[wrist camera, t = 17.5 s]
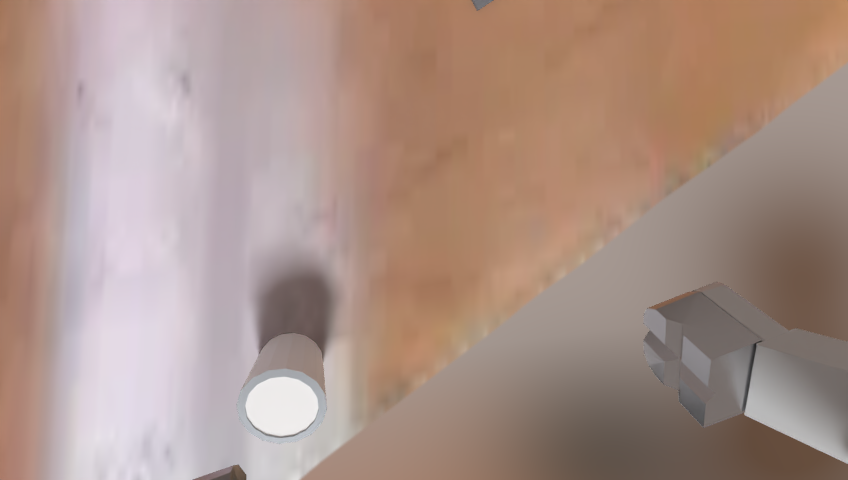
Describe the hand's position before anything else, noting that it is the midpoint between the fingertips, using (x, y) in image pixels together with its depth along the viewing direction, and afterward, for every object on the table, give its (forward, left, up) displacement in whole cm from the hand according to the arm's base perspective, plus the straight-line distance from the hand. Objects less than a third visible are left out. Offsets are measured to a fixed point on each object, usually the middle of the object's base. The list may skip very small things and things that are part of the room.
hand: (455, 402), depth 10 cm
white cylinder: (-11, -17, -34) cm, 40 cm away
